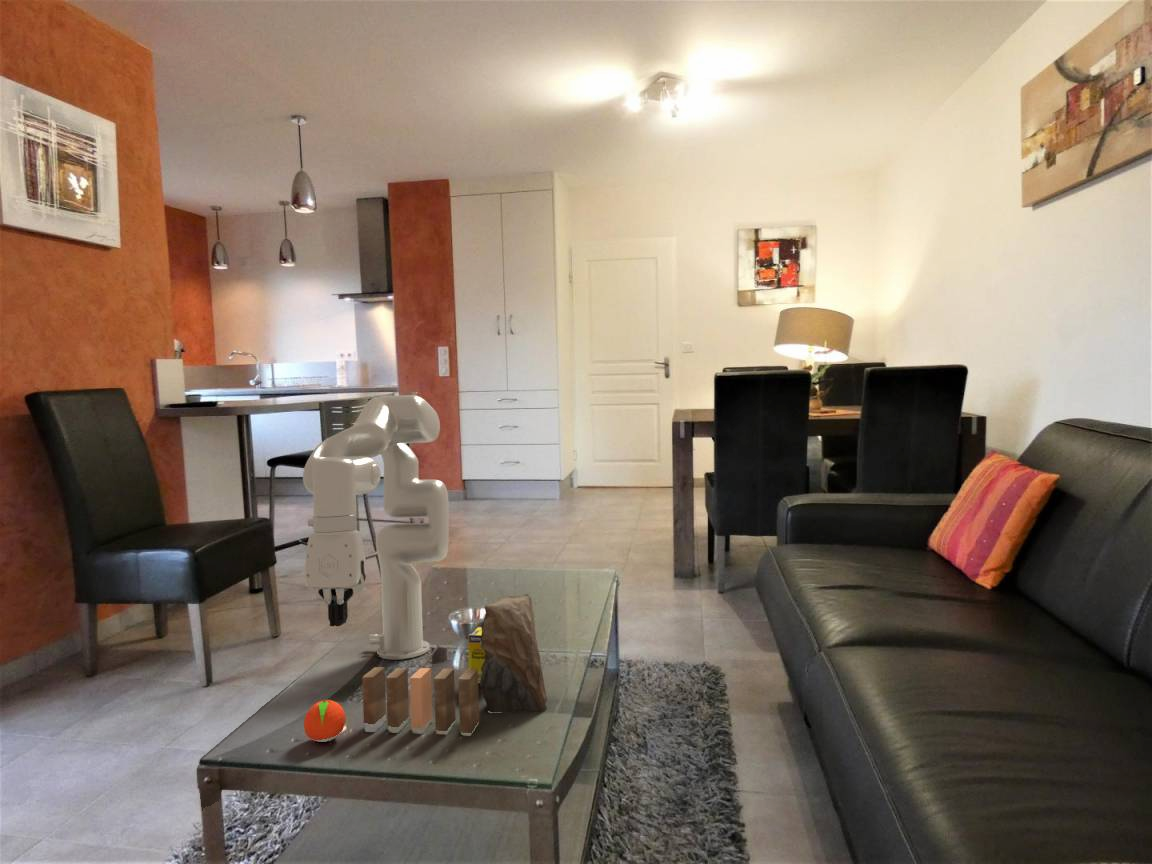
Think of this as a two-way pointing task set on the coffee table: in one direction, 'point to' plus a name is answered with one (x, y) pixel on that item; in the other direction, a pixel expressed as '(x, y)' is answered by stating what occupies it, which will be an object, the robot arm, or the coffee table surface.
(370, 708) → the domino
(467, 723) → the domino
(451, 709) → the domino
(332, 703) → the clementine
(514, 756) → the coffee table surface
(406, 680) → the domino
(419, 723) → the domino
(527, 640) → the brown rough lump
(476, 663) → the supplement box
